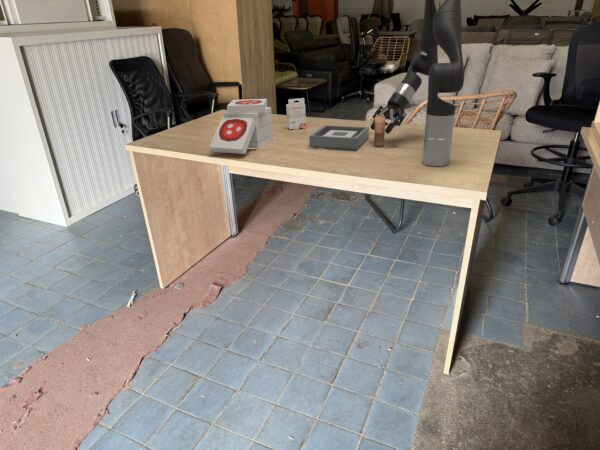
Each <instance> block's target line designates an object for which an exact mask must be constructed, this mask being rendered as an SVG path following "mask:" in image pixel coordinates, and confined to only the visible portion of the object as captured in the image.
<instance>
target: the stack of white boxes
mask: <svg viewBox="0 0 600 450" xmlns="http://www.w3.org/2000/svg"><path fill="white" fill-rule="evenodd" d="M222 114H223V117H221V119H220V121H219V123H218V125H217V127H216V131H215V133H214V135H213V138H212V140H211V143H210V144H209V148H210V149H211V151H212V152H214V153H227V154H228V153H229V154H239V155H242V154H243V155H246V153H247V152H248V151H247V150H248V149H247V148H257V149H258V148H260V147H261V146H263V145H265V144H267V143H268V142H270V141H272V140H273V141H274V131H273V117H272V116H273V114H272V107H271V106H268V98H250V99H249V98H248V99H244V98H243V99H232V101H230V102H229V103H228V104H227V105H226V111H225V112H223V113H222Z"/></svg>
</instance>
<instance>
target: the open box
mask: <svg viewBox="0 0 600 450" xmlns="http://www.w3.org/2000/svg"><path fill="white" fill-rule="evenodd" d="M369 132H370V127H368V126H352V125H349V126H346V125H345V126H344V125H329V124H328V125H327V124H326V125H325V124H324V125H322V127H320V128H319V129H318V130H316V131H314V132H313V133H311V134H309V137H308V138H309V142H308V143H309V148H310V147H313V148H312V149H318V148H325V149H324V150H333V149H336V150H335V151H348V152H349V151H351V152H352V151H353V152H358V150H359V149H360V148H361V147H362V146H363V145H364V144H365V143H366V142H367V141H368V140H369V135H370V133H369Z"/></svg>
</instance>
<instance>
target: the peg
mask: <svg viewBox="0 0 600 450" xmlns="http://www.w3.org/2000/svg"><path fill="white" fill-rule="evenodd" d="M385 129H386V119H385V116H383V115H382V116H377V115H376V116H375V130H374V137H373V138H374V139H373V147H374V148H381V149H382V148H384V146H385V134H386V132H385Z"/></svg>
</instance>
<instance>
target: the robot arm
mask: <svg viewBox="0 0 600 450" xmlns="http://www.w3.org/2000/svg"><path fill="white" fill-rule="evenodd" d="M461 1H462V0H444V1H443V3H441V5H440V6H439V7H438V8H437V7H436V6H437V5H436V3H435V0H424V11H423V12H424V14H423V23H422V28H421V34H420V39H419V44H418V47H419V49H420V50H421V51H423V52H424V53H425V54H423V53H417V54H415V55H414V56H413V57H412V58H411V60H410V64H409V67H408V70H407V72H406V75H405V77H404V78H403V79H402V81H401V82H400V84H398V86H397V87H396V89H395V90H394V92H393V93H392V94H391V96H390V98H389V99H388V100H387V105H386V106H385V107H383V106H382V105H379V106H378V108H377V110H376V111H374V113H373V115H372V118H373V121H372V123H371V124H370V127H369V129H371V130H372V131H375V116H385V120H389V121H390V122H389V124H387V126H386V127H385V134H390V133H391V132H392V130H394V128H395V127H397V126H398V127H400V126H401V125H402V123H403V121H404V120H405V118H406V117H407V112H406V111H405V110H406V108H407V107H408V105H409V104H410V103H411V101H412V99H413V98H414V96H415V94H416V93H417V91H418V89H419V88H420V87H421V85H422V82H423V80H422V78H421V76H419V75H418V74H421V75H424V76H426V77H428V81H427V82H428V83H427V87H428V88H427V103H426V114H425V115H426V116H425V124H424V125H425V126H424V134H423V135H424V137H423V144H422V145H423V147H422V148H423V149H422V159H421V162H422V164H424V165H425V166H429V167H441V168H442V167H445V166H447V165H450V159H451V158H450V157H451V149H452V141H453V132H454V131H453V130H454V124H455V116H456V105H455V104H454V103H452V102H448V101H445V100H444V99H442V98H440V97H439V94H444V93H445V94H447V93H453V94H454V93H458V92H460V91H461V90H462V89H463V87H464V81H465V68H464V67H465V66H464V58H463V50H462V49H463V47H462V38H463V37H462V30H463V28H462V26H463V25H462V20H463V19H462V5H461V4H462V2H461ZM438 47H439V48H441V50H442V51H443V53H445V54H446V56H447V57H448V59H449V62H439V55H438V53H439V52H438ZM417 73H418V74H417Z"/></svg>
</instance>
